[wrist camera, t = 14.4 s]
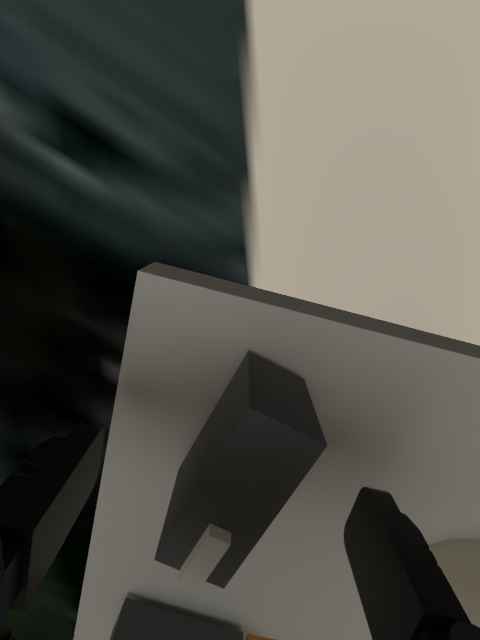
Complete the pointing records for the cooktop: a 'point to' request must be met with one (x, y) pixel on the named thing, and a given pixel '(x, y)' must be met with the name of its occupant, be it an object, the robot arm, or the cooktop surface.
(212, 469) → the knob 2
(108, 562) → the base plate
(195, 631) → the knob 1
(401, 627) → the robot arm
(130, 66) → the cooktop surface
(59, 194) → the cooktop surface
